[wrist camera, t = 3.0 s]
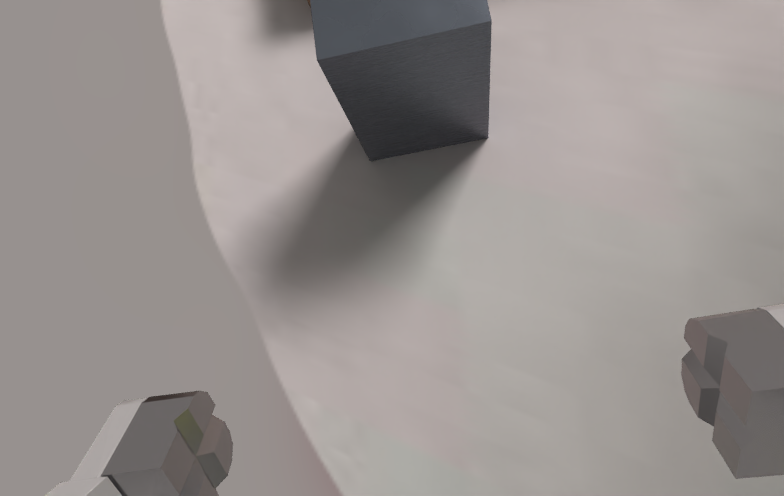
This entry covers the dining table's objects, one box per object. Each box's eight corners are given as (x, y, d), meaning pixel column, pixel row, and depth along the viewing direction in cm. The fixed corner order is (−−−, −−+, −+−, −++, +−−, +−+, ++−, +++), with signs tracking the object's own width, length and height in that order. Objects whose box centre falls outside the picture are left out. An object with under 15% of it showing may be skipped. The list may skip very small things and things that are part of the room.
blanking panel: (479, 93, 27) (478, -42, 18) (488, 137, 26) (491, 20, 17) (364, 117, 27) (309, -1, 19) (370, 161, 27) (317, 60, 18)
